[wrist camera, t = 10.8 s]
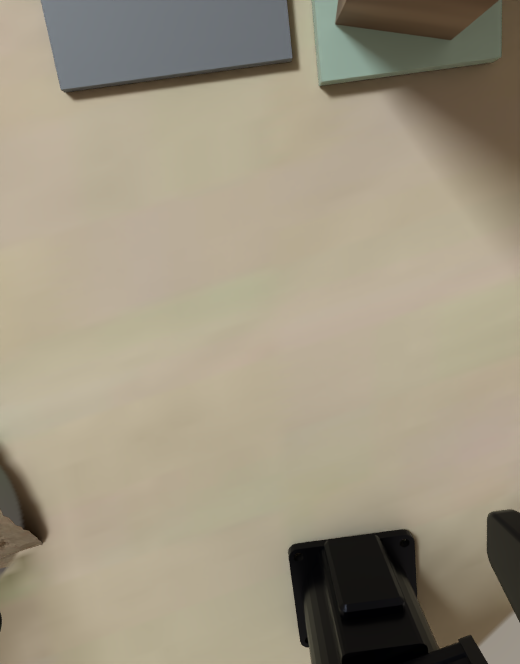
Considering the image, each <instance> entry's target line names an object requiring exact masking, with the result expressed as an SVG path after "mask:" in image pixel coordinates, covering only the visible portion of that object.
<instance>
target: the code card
mask: <svg viewBox="0 0 520 664" xmlns="http://www.w3.org/2000/svg"><path fill="white" fill-rule="evenodd" d="M41 4H42V8H43V12H44V17H45V21H46V26H47V30H48V35H49V39H50V44H51V48H52V52H53V57H54V61H55V66H56V70H57V75H58V79H59V84H60V88H61V90H62V91H64V92H72V91H79V90H86V89H94V88H101V87H108V86H116V85H123V84H130V83H138V82H145V81H152V80H159V79H167V78H174V77H181V76H189V75H196V74H203V73H211V72H218V71H225V70H233V69H240V68H247V67H254V66H262V65H269V64H276V63H284V62H291V61H292V49H291V38H290V28H289V18H288V8H287V0H41Z"/></svg>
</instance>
